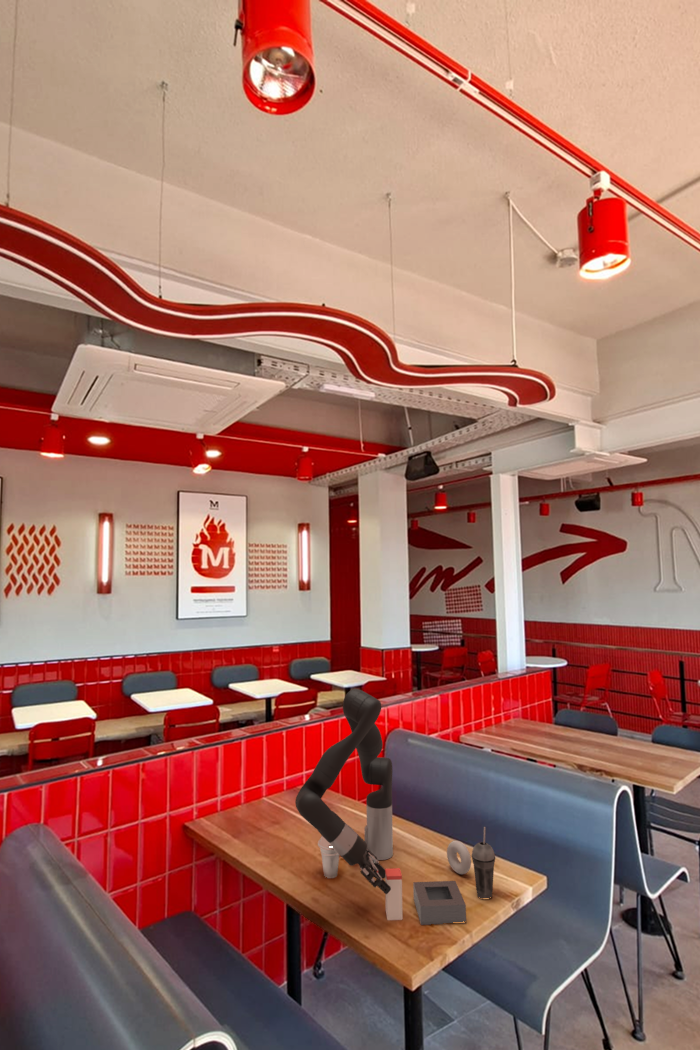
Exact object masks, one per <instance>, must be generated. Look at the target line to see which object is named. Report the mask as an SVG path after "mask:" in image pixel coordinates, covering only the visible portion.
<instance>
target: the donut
mask: <svg viewBox="0 0 700 1050" xmlns="http://www.w3.org/2000/svg"><path fill="white" fill-rule="evenodd" d="M458 855H459V857H460V860H459V858H458ZM471 858H472V856H471V853H470V851H469V849H468V847H467V846H466V845H465V844H464V843H463V842H462V841H460V840H452V841H451V842H449V844H448V846H447V849H446V859H447V861H448V864H449V866H450V868H451V869H452V870H453V871H454V872H455V873H457V874H459V875H466V874H467V873H468V872H469V871H470V870H471V866H472V859H471Z"/></svg>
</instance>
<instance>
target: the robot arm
mask: <svg viewBox="0 0 700 1050" xmlns="http://www.w3.org/2000/svg"><path fill="white" fill-rule="evenodd" d="M342 712H343V714H344V716H345V719H346V721H347V723H348V726H349V727H350V731H351V732H350V733H349V735H347V736H346V737H345V738H343V739H342V740H339V741H338V742H336V743H335V744H333V745H331V746H329V748H327V749H326V751H325V752H324V753H323V754H322V756H321V757H320V759H319V761H318V762H317V764H316V765H315V768H314V769H313V771H312V773H311V774H310V775H309V777H308V778H307V780H306V781H305V782H304V783H303V785H302V786H301V788H300V789H299V790H298V792H297V795H296V797H295V801H294V803H295V807H296V810H297V812H298V813H299V814H300V816H301V817H302V818H303V819H304V820H306V822H308V824H310V825H311V826H312V827H313V828H314V829H316V830H317V831H318V833H319V834H320V835H321V836H323V837H324V838H325V839H326V840H327V841H328V842H329V843H330V844H331V846H332V847H333V848H334V850H335V851H336V852H337V853H338V854H339V857H341V858H342V860H344V861H345V862H346V863H347V864H348V865H349V866H350V867H351V866H355V865H358V866H359V869H360V874H361V875H362V876H363V878H365V879H366V880H367V881H368V883H370V884H371V886H373V888H375V889H376V888H377V887H378V888H379V889H380V890H381V891H382V893H383V894H388V892H389V891H390V890H391V887H390V886H389V885H388V884H387V883H386V882H385V869H386V868H384V867H383V866H382V865H381V864H380V861H385V860H389V859H390V858H392V857H393V855H394V852H393V851H394V850H393V849H394V847H393V846H394V845H393V840H394V839H393V835H394V834H393V763H392V762H393V761H392V760H391V758H390V757H383V756H382V757H379V756H380V754H381V752H382V751H383V750H382V749H383V744H384V742H383V739H382V734H381V731H380V729H379V727H378V726H377V725H376V722H377V720H378V718H379V716H380V714H381V712H382V703H381V701H380V700H379V699H377V698H376V697H374V696H372V695H371V694H369V693H367V692H366V691H363V690H362V689H358V688H354V689H353V688H352V689H351V690H349V691H348V692H347V693H346V694H345V696H344V698H343V702H342ZM355 750H356V751H357V754H358V758H359V762H360V763H359V765H360V770H361V775H362V776H361V777H362V779H363V780H362V781H363V782H364V783H365V784H368V785H373V786H374V785H375V786H382V787H380V789H377V790H374V791H372V792H369V793H368V794H367V795H366V799H365V800H366V803H365V804H366V824H365V826H364V839H363V838H362V837H361V836H360V835H359V834H358V833H357V832H356V831H355V829H353V828H352V827H351V826H350V825H349V824H348V823H346V822H345V821H344V819H342V818H341V817H340V816H339V815H338V814H337V812H335V811H333V810H331V808H330V807H329V806H328V805H327V804H326V803H325V802H324V801H323V799H322V798H323V796H324V795H325V793H326V791H327V790H328V789H330V788H331V787H332V786H333V784H334V783H335V781H336V780H337V778H338V776H339V775H340V773H341V771H342V769H343V768H344V766H345V764H346V762H347V761H348V759H349V758H350V756H351V755H352V754H353V753H354V751H355Z"/></svg>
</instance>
